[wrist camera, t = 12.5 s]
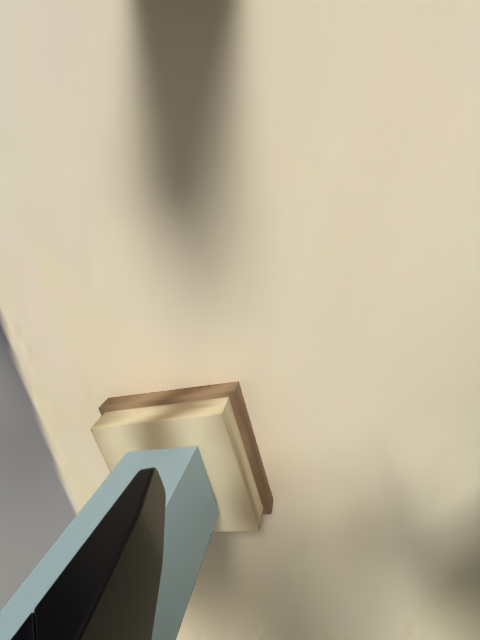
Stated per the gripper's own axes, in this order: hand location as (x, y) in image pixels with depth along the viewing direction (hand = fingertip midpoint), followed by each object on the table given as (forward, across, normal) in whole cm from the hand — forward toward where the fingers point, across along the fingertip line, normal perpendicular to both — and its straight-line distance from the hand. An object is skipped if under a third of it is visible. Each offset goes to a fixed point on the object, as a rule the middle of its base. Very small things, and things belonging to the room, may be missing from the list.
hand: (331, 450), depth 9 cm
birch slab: (+13, +8, +13) cm, 21 cm away
